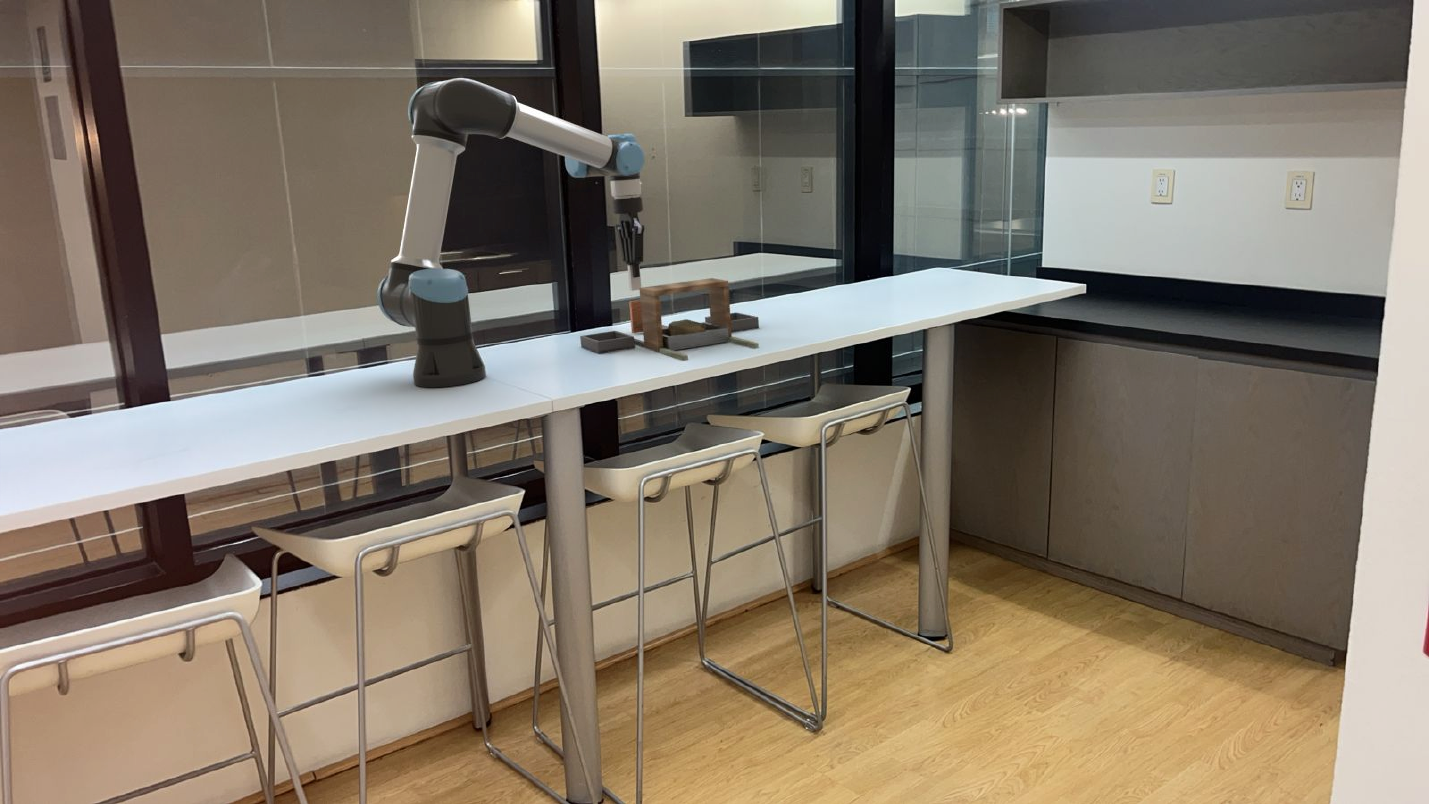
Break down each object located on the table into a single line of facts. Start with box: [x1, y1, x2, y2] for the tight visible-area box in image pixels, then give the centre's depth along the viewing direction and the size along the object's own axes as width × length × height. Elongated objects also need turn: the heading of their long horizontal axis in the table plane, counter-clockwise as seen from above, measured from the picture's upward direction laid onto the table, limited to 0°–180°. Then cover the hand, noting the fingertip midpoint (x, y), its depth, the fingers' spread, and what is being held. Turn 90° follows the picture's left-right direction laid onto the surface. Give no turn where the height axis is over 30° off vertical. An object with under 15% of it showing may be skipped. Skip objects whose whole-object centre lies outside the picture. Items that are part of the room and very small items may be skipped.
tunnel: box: [634, 277, 759, 361], centre depth 250 cm, size 19×37×14 cm, turn 28°
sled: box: [628, 297, 729, 351], centre depth 257 cm, size 16×30×8 cm, turn 28°
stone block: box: [668, 319, 706, 336], centre depth 250 cm, size 6×12×5 cm, turn 25°
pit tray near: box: [579, 330, 636, 355], centre depth 252 cm, size 9×11×3 cm
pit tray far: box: [704, 311, 760, 333], centre depth 267 cm, size 9×11×3 cm
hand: (635, 289), depth 273 cm, fingers closed
